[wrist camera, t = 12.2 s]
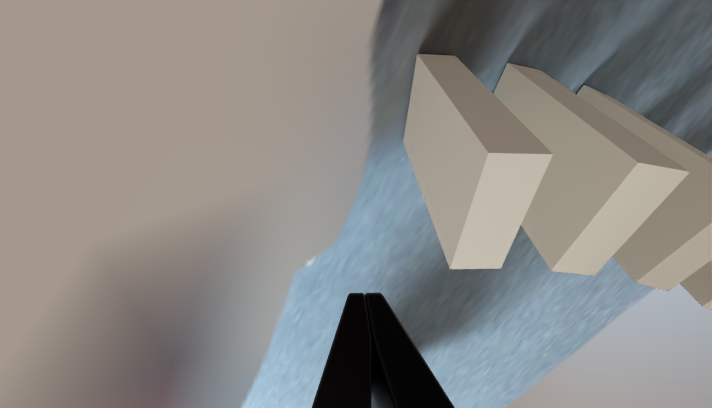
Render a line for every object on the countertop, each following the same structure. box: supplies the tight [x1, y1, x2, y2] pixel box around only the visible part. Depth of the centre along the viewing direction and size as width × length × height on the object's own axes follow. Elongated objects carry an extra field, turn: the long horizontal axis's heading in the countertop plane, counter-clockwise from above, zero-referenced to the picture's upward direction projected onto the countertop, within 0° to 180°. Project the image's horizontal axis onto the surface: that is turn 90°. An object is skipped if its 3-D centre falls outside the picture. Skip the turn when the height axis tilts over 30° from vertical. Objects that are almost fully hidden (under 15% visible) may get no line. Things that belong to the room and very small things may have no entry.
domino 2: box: [493, 63, 690, 275], centre depth 17 cm, size 2×5×10 cm, turn 167°
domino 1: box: [403, 54, 553, 269], centre depth 16 cm, size 2×5×10 cm, turn 176°
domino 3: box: [576, 85, 712, 291], centre depth 18 cm, size 2×5×10 cm, turn 158°
